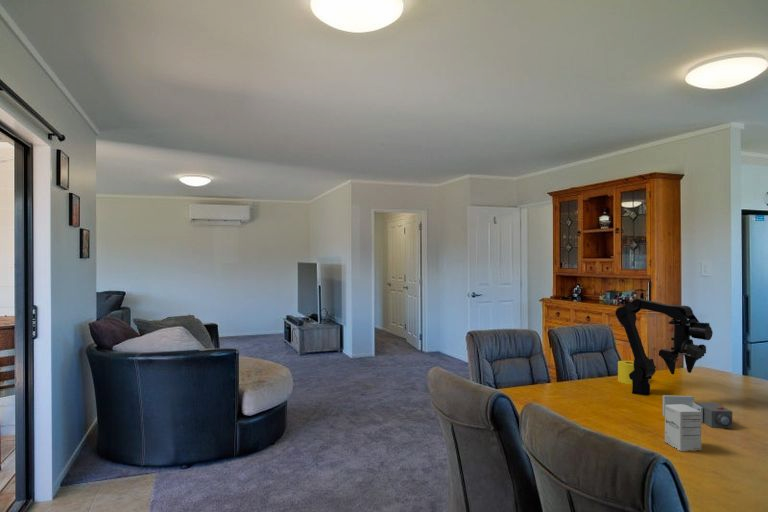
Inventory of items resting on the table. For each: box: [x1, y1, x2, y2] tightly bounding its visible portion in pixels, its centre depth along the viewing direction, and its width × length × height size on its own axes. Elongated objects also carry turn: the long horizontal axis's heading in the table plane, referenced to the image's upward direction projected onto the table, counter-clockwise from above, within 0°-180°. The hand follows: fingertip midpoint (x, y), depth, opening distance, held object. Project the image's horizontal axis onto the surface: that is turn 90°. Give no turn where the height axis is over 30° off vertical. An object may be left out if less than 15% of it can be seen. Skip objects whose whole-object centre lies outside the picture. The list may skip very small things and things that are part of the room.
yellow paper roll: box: [617, 360, 634, 385], centre depth 227 cm, size 10×10×9 cm
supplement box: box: [664, 404, 702, 452], centre depth 149 cm, size 7×7×13 cm
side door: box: [662, 394, 704, 424], centre depth 174 cm, size 6×11×8 cm, turn 85°
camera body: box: [694, 401, 733, 429], centre depth 170 cm, size 12×7×7 cm, turn 175°
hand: (681, 373), depth 193 cm, fingers open, 9 cm apart
